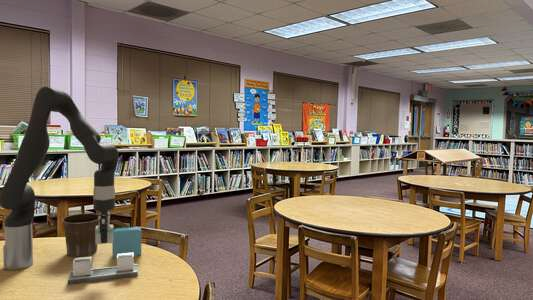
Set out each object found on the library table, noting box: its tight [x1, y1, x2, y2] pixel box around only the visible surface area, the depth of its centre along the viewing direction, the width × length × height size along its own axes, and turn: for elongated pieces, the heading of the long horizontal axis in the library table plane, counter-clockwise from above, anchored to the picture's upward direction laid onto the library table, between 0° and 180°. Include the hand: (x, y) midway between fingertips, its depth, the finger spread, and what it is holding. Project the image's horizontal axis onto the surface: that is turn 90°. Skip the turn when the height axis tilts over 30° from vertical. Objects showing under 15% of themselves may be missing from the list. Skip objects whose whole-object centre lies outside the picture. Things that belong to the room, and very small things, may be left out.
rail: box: [67, 252, 139, 286], centre depth 136 cm, size 24×8×8 cm, turn 111°
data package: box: [111, 226, 142, 259], centre depth 158 cm, size 12×4×12 cm, turn 112°
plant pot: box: [61, 213, 99, 258], centre depth 160 cm, size 16×16×16 cm
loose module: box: [95, 224, 114, 245], centre depth 135 cm, size 6×5×6 cm
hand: (104, 240), depth 135 cm, fingers closed on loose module, 4 cm apart
